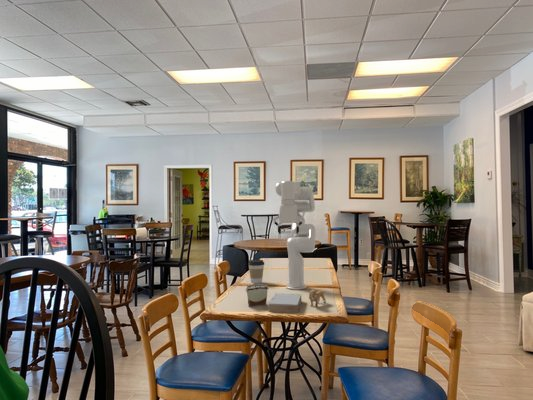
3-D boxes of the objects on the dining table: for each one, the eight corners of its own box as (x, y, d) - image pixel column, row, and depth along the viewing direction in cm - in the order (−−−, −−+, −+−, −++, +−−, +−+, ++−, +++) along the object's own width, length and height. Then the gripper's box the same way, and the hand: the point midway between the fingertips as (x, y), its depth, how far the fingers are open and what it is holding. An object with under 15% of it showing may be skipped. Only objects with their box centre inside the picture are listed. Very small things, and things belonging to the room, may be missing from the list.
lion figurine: (316, 309, 171) (316, 291, 171) (306, 308, 173) (306, 290, 174) (327, 302, 183) (327, 285, 183) (318, 300, 186) (317, 284, 186)
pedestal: (275, 300, 188) (275, 293, 188) (301, 301, 185) (301, 293, 185) (268, 311, 168) (268, 303, 168) (297, 312, 166) (297, 304, 166)
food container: (264, 301, 186) (264, 283, 186) (268, 304, 180) (268, 285, 180) (242, 304, 181) (242, 285, 182) (246, 307, 176) (246, 287, 176)
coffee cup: (265, 280, 237) (265, 259, 237) (264, 284, 226) (263, 261, 226) (249, 280, 238) (249, 259, 238) (246, 284, 227) (246, 261, 227)
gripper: (303, 203, 196) (303, 233, 196) (273, 203, 198) (273, 233, 197) (303, 202, 189) (304, 234, 188) (272, 203, 190) (272, 234, 190)
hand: (288, 233), depth 193 cm, fingers open, 9 cm apart
